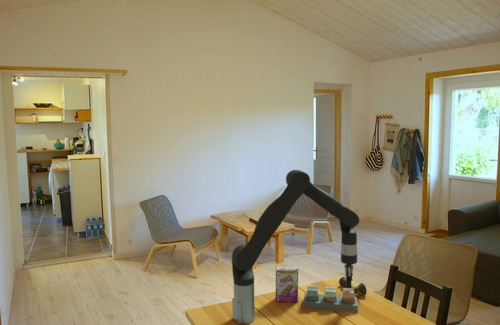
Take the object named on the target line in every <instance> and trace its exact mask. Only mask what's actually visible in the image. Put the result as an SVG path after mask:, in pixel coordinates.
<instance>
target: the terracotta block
mask: <svg viewBox="0 0 500 325" xmlns="http://www.w3.org/2000/svg"><path fill="white" fill-rule="evenodd" d="M342 296H343V303H354V296H355V294H354V289H351V288H344V287H343V288H342Z"/></svg>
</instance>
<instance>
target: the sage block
mask: <svg viewBox="0 0 500 325" xmlns="http://www.w3.org/2000/svg"><path fill="white" fill-rule="evenodd" d="M324 293H325V301H328V302H336V295H337V290H336V287H334V286H333V287H331V286H325V287H324Z"/></svg>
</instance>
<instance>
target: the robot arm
mask: <svg viewBox="0 0 500 325" xmlns="http://www.w3.org/2000/svg"><path fill="white" fill-rule="evenodd" d="M285 184H287V185H286V187H285V188H284V190H283V192H282V193H281V194H280V195H279V196H278V197H277V198H276V199H274V200H273V201H272V202H271V203H270V204H269V205H268V206H267V207H266V208H265V210H264V211H263V212H262V214H261V215H260V217H259V219H258V220H257V223H256V225H255V227H254V230H253V233H252V236H251V238H250V239H249V240H248V242H247V243H246V244H245V245H244V244H240V245H238V246H237V247H235V248H234V249H233V251H232V255H231V267H232V268H231V270H232V278H233V298H231V305H232V309H231V310H232V312H231V313H232V319H233V320H234V321H235V322H236V324H249V323H253V322H254V321H255V318H256V317H255V315H256V313H255V309H256V308H255V274H254V271H253V267H254V265H255V264H256V263H257V260H258V259H259V257H260V255H261V253H262V252H263V249H264V248H265V246H267V244H268V242H269V241H270V239H271V238H272V237H273V235H274V234H275V232H276V231H277V230H278V229H279V227H280V226H281V224H282V223H283V221H284V219H286V217H287V216H288V214H289V213H290V211H291V209H292V207H294V205H295V204H296V202H297V201H298V200H299V199H300V198H301V196H302V195H305V197H308V199H310V200H312V202H315V204H317V205H318V206H319V207H321V208H322V209H323V210H324V211H326V212H328V213H329V214H330V215H331V216H334V217H335V218H337V219H339V220H338V221H339V227H340V231H341V233H340V234H341V244H340V262H341V263H342V264H344V277H346V287H347V288H351V285H352V282H353V276H354V275H353V274H354V265H356V264H357V263H358V244H357V243H358V236H357V235H358V234H357V232H356V230H355V227H357V226H358V225H359V223H360V217H359V215H358V214H357V212H355V211H354V210H352V209H351V208H348V207H347V206H345V204H343V203H342V202H340V201H339V200H338V199H336V198H335V197H334V196H332V195H331V194H329V193H328V192H326V191H324V190H322V189H321V188H319V187H317V186H316V185H315V184H314V183H312V182H311V178H310V175H309V174H308V172H306V171H303V170H299V169H292V170H290V171H288V173H287V174H286V177H285Z"/></svg>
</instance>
